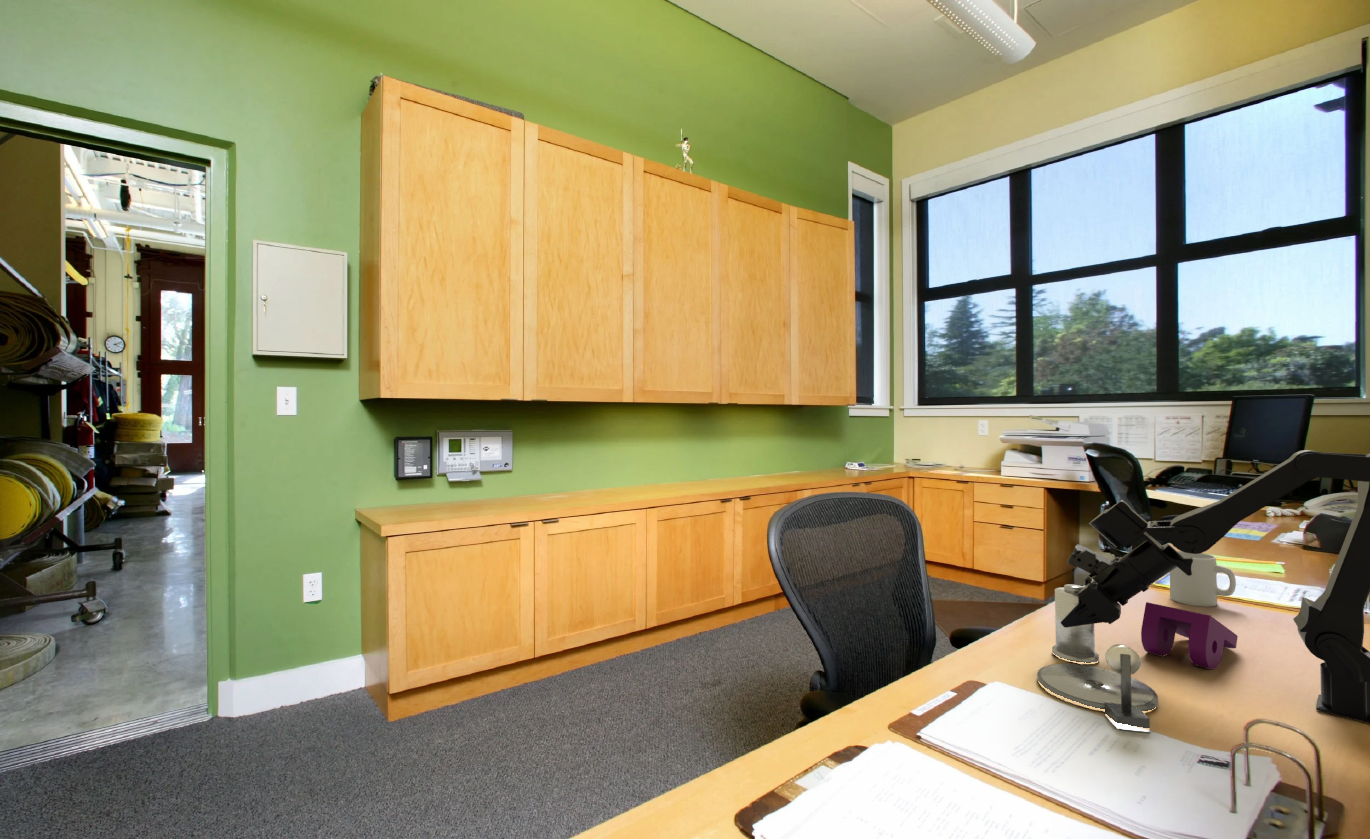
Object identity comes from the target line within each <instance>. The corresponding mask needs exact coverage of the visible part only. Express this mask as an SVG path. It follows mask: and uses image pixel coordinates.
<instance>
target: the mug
mask: <svg viewBox="0 0 1370 839" xmlns="http://www.w3.org/2000/svg"><path fill="white" fill-rule="evenodd" d="M1176 551H1177V552H1178V553H1180V554H1181V555H1182V556H1185V557H1192V558H1193V563H1192V566H1191V570H1192V575H1191V576H1188V575H1186V574H1185V573H1184V572H1183V571H1182V570H1180V569H1179V568H1178V567H1177V568H1175V569H1174V570H1172V571H1171V572H1169V598H1170V600H1171V601H1174V602H1176V603H1179V604H1183V605H1187V606H1194V607H1202V608H1203V607H1204V608H1205V607H1208V608H1209V607H1211V608H1212V607H1216V606H1217V605H1218V597H1219V596H1221V597H1230V596H1232V595H1233V594H1234V593H1235V592H1236V586H1237V582H1236V579H1237V578H1236V577H1235V576H1236V575H1235V572H1234V571H1233V570H1232V569H1231V568H1229V567H1226V566H1224V565H1221V564H1220V565H1219V564H1217V557H1215V556H1214V555H1211V554H1207V553H1204V552H1203V553H1200V554H1191V553H1185V552H1183V551H1180V550H1176ZM1218 573H1223V574H1225V575H1227V577H1228V579H1229V586H1228V587H1227V589H1224V588H1223V589H1222V588H1220V587H1218V583H1217V582H1218V580H1217V578H1218V577H1217V574H1218Z"/></svg>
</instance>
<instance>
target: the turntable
mask: <svg viewBox="0 0 1370 839" xmlns="http://www.w3.org/2000/svg"><path fill="white" fill-rule="evenodd" d="M1036 674H1037V675H1036V677H1037V678H1038V681H1039V682H1040V683H1041V684H1042V685H1043V686H1044V687H1045V688H1047V689H1049V690H1050V691H1051V692H1053V693H1055V694H1057V695H1060V696H1063V697H1064V698H1067V699H1070V700H1072V701H1076V702H1079V703H1081V704H1084V705H1087V706H1092V707H1095V708H1100V709H1105V703H1115V704H1121V674H1119V673H1117V672H1116V671H1114V670H1110V669H1106V668H1102V667H1098V666H1094V665H1079V664H1073V663H1058V664H1050V665H1046V666H1043V667H1041V668H1040V669H1038V670H1037V673H1036ZM1037 678H1036V679H1037ZM1131 700H1132V705H1136V706H1137V707H1138V708H1139V709H1140V710H1141V711H1148V710H1152V709H1154V708H1155V707H1157V705H1158V706H1159V697H1158V694H1157V693H1156V691H1155V690H1154V689H1153V688H1152V687H1151V686H1149V685H1148V684H1146V683H1144V682H1142V681H1140V680H1139V679H1136V678H1134V677H1132V676H1131ZM1157 708H1158V707H1157Z"/></svg>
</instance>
